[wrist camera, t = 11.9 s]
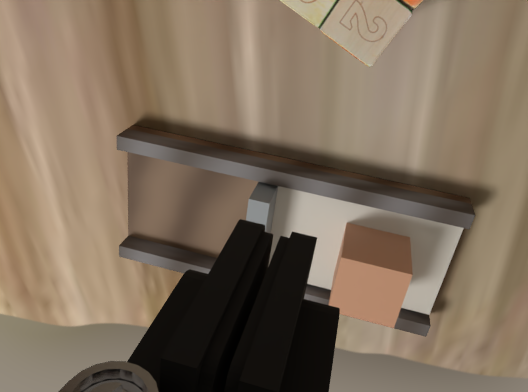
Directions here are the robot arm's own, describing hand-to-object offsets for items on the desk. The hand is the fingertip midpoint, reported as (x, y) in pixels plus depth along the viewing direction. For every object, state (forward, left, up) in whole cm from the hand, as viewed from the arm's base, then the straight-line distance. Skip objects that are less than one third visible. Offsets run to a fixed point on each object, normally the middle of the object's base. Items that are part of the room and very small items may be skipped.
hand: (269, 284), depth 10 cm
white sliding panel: (-3, +15, -26) cm, 30 cm away
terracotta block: (-5, +15, -25) cm, 30 cm away
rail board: (+3, +15, -27) cm, 31 cm away
